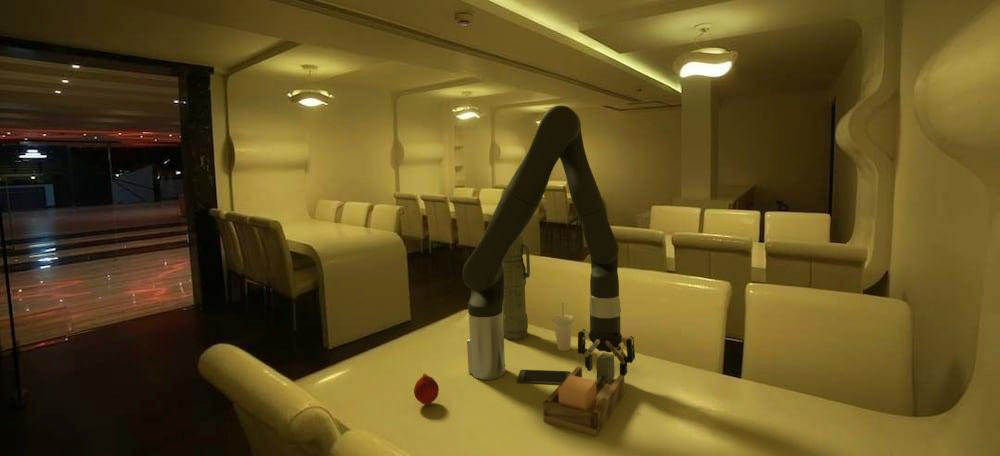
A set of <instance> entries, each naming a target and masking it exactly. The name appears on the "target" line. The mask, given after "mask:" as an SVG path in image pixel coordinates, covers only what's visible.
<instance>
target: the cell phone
mask: <svg viewBox="0 0 1000 456" xmlns="http://www.w3.org/2000/svg"><path fill="white" fill-rule="evenodd" d="M571 373H572V372H571V371H570V370H547V369H545V370H543V369H542V370H541V369H523V368H522V369H520V371H519V372H518V375H517V379H516V382H517V384H525V385H526V384H527V385H531V384H532V385H548V386H549V385H552V386H553V385H555V386H559V385H560V384H561V383H562V382H563V381H564V380H565V379H566V378H567V377H568V376H569V375H570V374H571Z"/></svg>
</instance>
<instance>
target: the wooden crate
mask: <svg viewBox="0 0 1000 456" xmlns="http://www.w3.org/2000/svg"><path fill="white" fill-rule="evenodd" d="M571 375H572V376H577V377H582V378H583V367H582V366H576V367H575V369H573V370H572V372H571V374H570V375H569V376H568V377H567V378H566V379H565V380H564V381H563V382H562V383H561V384H560V385H557V387H556V388H555V389H554V390H553V391H552V393H550V395H549V396H547V398H546V399H545V400H544V401H543V403H542V404H543V405H542V406H543V407H542V409H543V410H542V411H543V423H547V424H551V425H554V426H558V427H561V428H563V429H564V428H565V429H568V430H573V431H575V432H579V433H583V434H587V435H590V436H594V437H597V436H598V435H599V434H600V432H601V430H602V428H603V427H604V426H605V424H606V422H607V421H608V420H609V418H610V416H611V415H612V413H613V412H614V410H615V409H616V407H617V406H618V404H619V403H620V401H621V400H622V398H623V396H624V395H625V376H623V375H620V374H618V376H617V378H616V379H615V381H613V383H612V384H610V383H609V384H606V383H600V384H599V386H598V387H597V388H596V405H597V406H596V407H595V409H594V410H593V411H592V412H591V411H587V410H583V409H579V408H575V407H571V406H567V405H563V404H559V390H558V388H559V387H560V386H561V385H562V384H563V383H564V382H565V381H566V380H567V379H568V378H569V377H570V376H571Z"/></svg>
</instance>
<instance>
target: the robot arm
mask: <svg viewBox="0 0 1000 456" xmlns="http://www.w3.org/2000/svg"><path fill="white" fill-rule="evenodd" d="M581 123H582V122H581V119H580V117H579V115H578V114H577V113H576V112H575V111H574V110H573V109H572V108H570V107H569V106H566V105H562V104H561V105H555V106H553V107H551V108H549V109H547V110H546V112H545V113H543V115H542V117H541V119H540V121H539V124H538V126H537V129H536V131H535V134H534V137H533V138H532V142H530V143H531V144H530V146H529V148H528V150H527V153H526V155H525V156H524V157H523V160H522V161H521V163H520V164H519V166H518V167H517V169H516V170H515V173H514V174H513V176H512V177H511V179H510V181H509V182H508V184H507V186H506V188H505V189H504V192H503V193H502V195H501V198H500V199H499V201H498V203H497V205H496V207H495V210H494V212H493V214H492V216H491V218H490V220H489V223H488V225H487V227H486V229H485V232H484V234H483V236H482V237H481V239H480V241H479V242H478V244H477V245H476V247H475V248H474V250H473V252H472V253H471V255H470V256H469V257H468V258H467V260H466V262H465V263H464V266H463V267H462V280H463V282H464V285H466V287H467V288H468V289H470V291H471V293H470V297H469V299H468V304H467V313H468V327H469V338H468V339H467V340H466V348H467V349H466V350H467V351H466V352H467V367H468V374H470V373H471V375H472V376H473V377H474V378H476V379H478V378H479V380H484V381H485V380H486V381H488V380H496V379H498V378H501V377H502V376H503V375H505V374H506V359H505V357H506V355H505V354H506V353H505V339H504V331H503V309H502V305H503V299H504V272H503V265H502V261H503V259H504V257H505V255H506V253H507V251H508V249H509V248H510V247H511V245H512V244H513V243H514V241H515V240H516V239H517V238H518V236H519V235H520V234H521V233H523V231H524V229H525V228H527V226H528V224H529V223H530V221H531V219H532V218H533V216H534V215H535V213H536V211H537V209H538V207H539V205H541V204H540V203H541V202H542V199H543V196H544V195H545V192H546V189H547V185H548V183H549V180H550V178H551V174H552V172H553V170H554V168H555V165H556V164H557V162H558V161H559V160H560V162H561V164H562V168H563V169H564V173H565V177H566V182H567V187H568V191H569V194H570V198H571V203H572V205H573V208H574V211H575V214H576V216H577V219H578V222H579V223H580V226H581V228H582V232H583V237H584V241H585V244H586V247H587V251H588V253H589V256H590V266H591V267H590V269H591V271H590V276H589V281H590V282H589V290H590V291H589V292H590V295H589V296H590V298H589V328H590V329H589V330H590V331H587V330H586V329H585V328H582V329H581V330H579V331H578V333H577V353H578V354H579V355H583V356H584V366H585V369H587V372H591V371H592V369H593V367H594V366H593V365H594V363H593V362H594V361H593V360H594V359H593V354H592V353H593V352H594V351H595V350H596V349H597V350H598V351H599V352H605V353H608V354H614V358H615V357H616V358H617V359H618V361H619V375H623V376H624V377H625V376H626V375H627V374H628V363H630V364H632V363H633V361H634V360H635V359H636V351H635V339H634V337H633V336H630V335H629V337H625V336H623V335H622V334H621V330H622V329H621V328H622V327H621V325H622V324H621V312H622V309H621V301H620V280H619V273H618V272H619V271H618V269H619V268H618V265H619V249H620V248H619V242H618V239H617V238H616V236H615V235H614V232H613V229H612V227H611V225H610V223H609V218H608V212H607V209H606V206H605V203H604V200H603V198H602V194H601V192H600V189H599V187H598V184H597V181H596V179H595V177H594V174H593V171H592V168H591V166H590V162H589V160H588V157H587V155H586V150H585V146H584V142H583V141H584V140H583V135H582V133H583V132H582V129H581V128H582V124H581ZM521 235H522V234H521ZM588 338H589V340H590V341H591V343H592V344H591V345H590V346H589V348H586V340H587V339H588ZM621 343H623V346H625V348H626V352H624V348H623V347H622V346H621V345H620V344H621Z"/></svg>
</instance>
